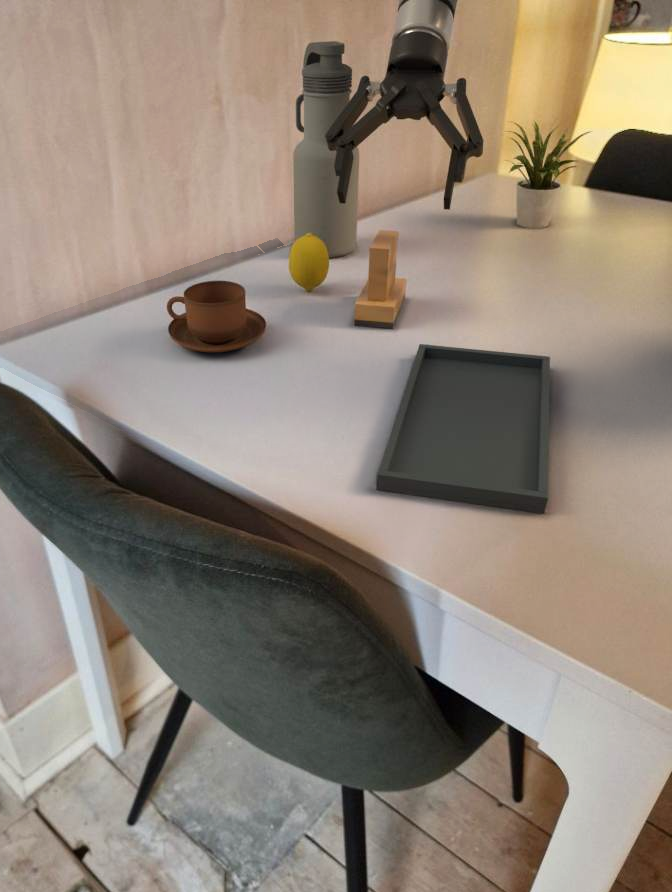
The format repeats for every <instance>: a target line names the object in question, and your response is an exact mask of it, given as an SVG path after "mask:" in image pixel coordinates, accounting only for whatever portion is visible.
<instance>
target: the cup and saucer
mask: <svg viewBox="0 0 672 892" xmlns="http://www.w3.org/2000/svg"><path fill="white" fill-rule="evenodd" d="M246 299H247V298H246V289H245V287H244V286H243V285H242V284H240V283H237V282H234V281H229V280H207V281H203V282H202V281H201V282H198V283H194V284H192V285H189V286H188V287H187V288H186V289H184V292H183V296H180V295H179V296H178V295H177V296H172V297H171V298H169V300H168V301H167V303H166V311H167V314H168V315H169V316H170V317H171V318H172V320H171V321H170V322H169V324H168V326H167V331H168V334H169V336H170V338H171V340H173V342H175V343H177V344H178V345H179V346H181V347H182V348H185V349H188V350H191V351H195V352H201V353H226V352H232V351H236V350H239V349H240V350H241V349H243V348H246V347H248V346H250V345H252V344H253V343H255V342H256V341H258V340H259V339H260V338H261V337H262V336H263V335H264V333H265V331H266V327H267V322H266V319H265V318H264V316H262V315H261V314H260V313H258V312H256V311H255V310H251V309H248V308H247V305H246V304H247V303H246ZM175 303H181V304H183V305H184V308H185V312H184V313H181V314H177V313H176V312H175V311H174V310H173V304H175Z"/></svg>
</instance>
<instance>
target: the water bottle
mask: <svg viewBox="0 0 672 892" xmlns="http://www.w3.org/2000/svg"><path fill="white" fill-rule="evenodd" d="M344 54H345V43H344V42H339V41H337V40H336V41H335V40H331V41H329V40H328V41H315V42H313V41H312V42H309V43H308V44H307V46H306V47H305V50H304V56H303V63H302V69H301V76H302V90H301V94H299V95H298V96H297V97H296V100H295V127H296V129H297V130H298V131H299V132H301V133H303V138H302V140H300V142H298V143H297V145H296V146H295V147H294V149H293V152H292V154H293V155H292V159H293V160H292V164H293V165H292V168H293V170H292V171H293V174H292V175H293V223H294V224H293V229H294V236H293V237H294V242H295V241H296V240H298V239H299V238H300V237H302V236H305V235H306V234H307V233H311V234H312V235H313V236H316V237H318V238H319V239H320V240H322V241H323V243H324V244H325V246H326V248H327V251H328V256H329V259H333V258H334V259H335V258H339V257H344V256H346V255H349V254H350V253H352V252H353V251H354V250H355V248H356V246H357V239H358V238H357V237H358V208H359V180H360V177H359V176H360V150H359V148H358V147H359V146H357V147H356V148H355V149H354V150H352V152H353V157H354V159H353V164H352V170H351V175H350V181H349V186H348V192H347V197H346V203H340V202H339V198H338V195H337V188H338V183H339V177H340V176H336V173H335V169H334V163H335V158H336V152H337V151H335V150H334V151H330V150H329V149H328V146H327V142H326V138H325V135H326V133H327V131H328V130H329V129H330V127H331V126H332V125H333V123H334V122H335V120H336V119H337V118H338V116H339V115H340V114H341V112H342V111H343V109H344V108H345V107H346V105H347V104H348V103H349V101H350V100H351V94H352V91H353V90H352V89H351V88H352V86H353V81H352V80H353V78H352V77H353V68H352V67H351V66H349V65H348V64H346V63H343V55H344ZM302 104H303V124H302V110H301V109H302V108H301V107H302Z"/></svg>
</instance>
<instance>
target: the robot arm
mask: <svg viewBox="0 0 672 892" xmlns="http://www.w3.org/2000/svg"><path fill="white" fill-rule="evenodd" d="M458 1H459V0H398V7H397V13H396V16H395V21H394V27H393V33H392V38H391V46H390V51H389V56H388V61H387V67H386V72H385V76H384V78H383V79H382V81H381V82H380V81H371V79H370V76H368V75H363V76H361V77H360V80H359V83H358V86H357V89H356V91H355V93H354V94H353V95H352V96H351V97H350V101H349V103H348V104H347V105H346V107H345V108H344V109H343V111H342V112H341V114H340V115H339V116H338V118H337V119H336V120H335V122H334V123H333V125H332V126H331V127H330V129H329V130H328V131H327V133H326V135H325V138H326V142H327V146H328V149H329V150H330V151H334V150H335V151H337V152H336V158H335V163H334V169H335V173H336V176H340V177H339V183H338V188H337V195H338V198H339V202H340V203H346V197H347V192H348V186H349V181H350V175H351V170H352V164H353V159H354V157H353V152H352V150H354V149H355V148H356V147H359V145H361V143H363V142H364V141H366V140H367V138H368V137H369V136H371V135H372V134H373V133H374V132H375V131H376V130H377V129H379V127H381V126H382V125H383V124H387V123H388V122H389V121H390V120H392V118H396V120H401V121H402V120H408V119H409V120H413V121H421V119H423V118H426V119H427V121H428V122H429V123H430V125H431V126H433V127H434V128H435V129H436V131H437V132H438V133H439V135H440V136H441V137H442V139H443V140H444V142H445V143H446V144H447V146H448V148H450V157H449V158H450V159H449V163H448V169H447V175H446V181H445V187H444V193H443V210H447V211H449V210H451V205H452V199H453V193H454V186H455V183H459V184H460V183H463V181H464V179H465V174H466V167H467V163H468V160H469V159H470V158H472V157H475V158H480V157H482V155H483V153H484V138H483V135H482V132H481V129H480V127H479V124H478V121H477V119H476V117H475V114H474V112H473V109H472V107H471V103H470V101H469V98H468V96H467V79H466V78H465V77H459V78H458V79H457V80H456V83H445V81H444V80H445V75H446V74H445V73H446V68H447V63H448V62H447V61H448V57H449V49H450V44H451V38H452V33H453V27H454V21H455V15H456V10H457V4H458ZM377 95H380V98H378V100H377V101H376V103H375V105H374V106H373V107H372V108H371V109H369V111H367V113H365V114H364V115H363V116H361V115H362V114H363V113H364V111H365V110H366V108H367V107H368V104H369V102H370V103H372V102H373V100H374V98H375V97H376V96H377ZM445 97H448V98H449V101H450V102H451V103H452V104H453V105H456V106H455V107H456V109H455V110H456V113H457V115H458V119H459V120H460V123H461V125H462V128H463V131H464V134H465V136H466V139H465V138H464V136H463V135H462V133H461V132H460V131H459V130H458V128H457V127H456V125H455V124H454V123H453V121H452V120H451V119H450V117H449V116H448V114H447V113H446V112H445V110H444V109H443V108H442V105H441V102H442V101H443V100H444V98H445ZM360 117H361V118H360ZM359 118H360V119H359Z"/></svg>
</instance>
